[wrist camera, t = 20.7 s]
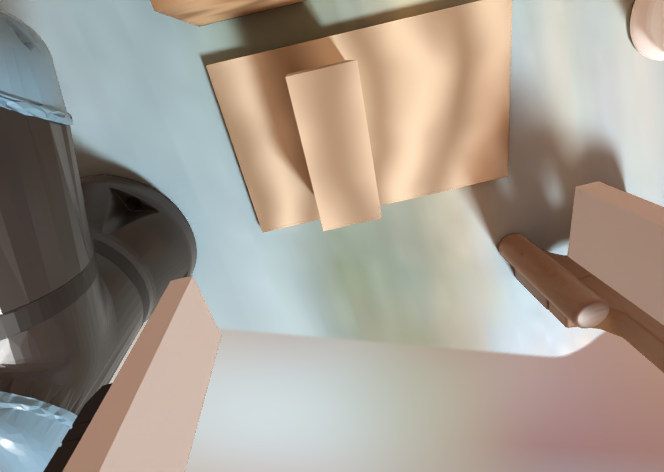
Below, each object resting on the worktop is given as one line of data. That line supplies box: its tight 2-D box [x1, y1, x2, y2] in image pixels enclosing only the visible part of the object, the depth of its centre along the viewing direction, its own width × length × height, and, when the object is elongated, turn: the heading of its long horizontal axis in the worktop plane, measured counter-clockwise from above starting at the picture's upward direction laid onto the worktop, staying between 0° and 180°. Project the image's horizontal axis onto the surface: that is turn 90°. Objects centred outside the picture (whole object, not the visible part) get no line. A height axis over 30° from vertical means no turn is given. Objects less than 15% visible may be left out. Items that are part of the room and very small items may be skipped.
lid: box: [206, 0, 512, 232], centre depth 30 cm, size 26×16×8 cm, turn 102°
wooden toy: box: [499, 234, 664, 372], centre depth 30 cm, size 16×7×25 cm, turn 108°
